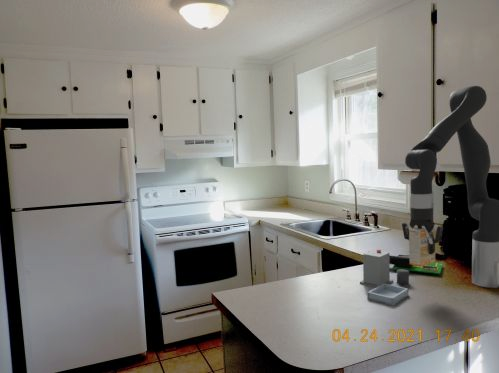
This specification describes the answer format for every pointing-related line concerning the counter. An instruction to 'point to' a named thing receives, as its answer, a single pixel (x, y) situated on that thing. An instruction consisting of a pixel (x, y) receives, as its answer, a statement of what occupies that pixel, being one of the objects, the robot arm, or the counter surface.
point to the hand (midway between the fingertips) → (422, 252)
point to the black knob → (402, 277)
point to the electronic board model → (404, 263)
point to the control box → (376, 268)
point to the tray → (387, 294)
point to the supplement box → (420, 247)
